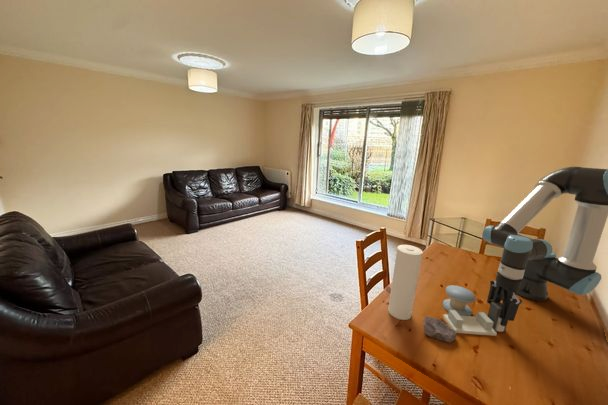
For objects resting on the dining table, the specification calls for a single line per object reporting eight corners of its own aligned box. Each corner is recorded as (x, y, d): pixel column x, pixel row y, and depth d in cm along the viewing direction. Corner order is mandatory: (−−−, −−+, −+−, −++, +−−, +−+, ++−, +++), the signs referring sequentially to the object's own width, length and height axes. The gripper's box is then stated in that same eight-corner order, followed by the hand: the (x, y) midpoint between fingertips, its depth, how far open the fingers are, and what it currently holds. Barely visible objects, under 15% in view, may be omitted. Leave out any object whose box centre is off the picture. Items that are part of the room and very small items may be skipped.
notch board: (481, 319, 105) (483, 309, 103) (496, 335, 96) (499, 325, 95) (442, 316, 105) (444, 307, 104) (454, 332, 96) (456, 322, 95)
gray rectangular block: (497, 323, 102) (503, 303, 100) (504, 331, 99) (511, 309, 96) (485, 323, 103) (491, 302, 100) (492, 330, 99) (498, 308, 96)
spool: (462, 302, 116) (465, 286, 114) (476, 318, 105) (481, 301, 103) (438, 300, 116) (441, 284, 114) (450, 316, 106) (454, 299, 103)
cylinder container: (413, 321, 101) (425, 254, 94) (389, 317, 103) (399, 251, 96) (408, 307, 110) (419, 245, 103) (386, 303, 112) (396, 242, 105)
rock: (456, 348, 89) (458, 338, 88) (421, 335, 94) (423, 325, 93) (455, 334, 96) (457, 324, 95) (423, 322, 101) (424, 313, 100)
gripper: (484, 263, 103) (472, 311, 109) (517, 287, 87) (500, 342, 92) (503, 264, 103) (490, 313, 109) (539, 288, 86) (521, 343, 92)
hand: (495, 326), depth 101 cm, fingers closed on gray rectangular block, 4 cm apart
